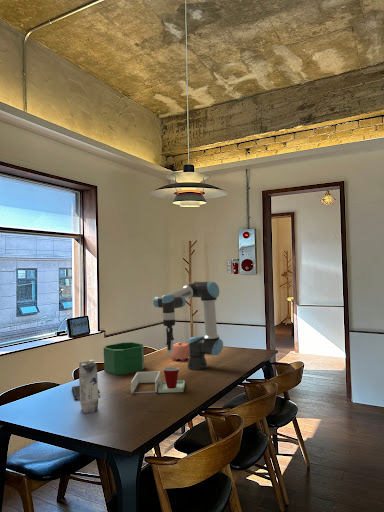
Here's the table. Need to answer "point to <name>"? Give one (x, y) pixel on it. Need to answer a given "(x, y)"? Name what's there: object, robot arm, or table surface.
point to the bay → (146, 380)
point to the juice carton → (88, 386)
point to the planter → (123, 358)
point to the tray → (164, 388)
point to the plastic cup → (171, 376)
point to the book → (77, 392)
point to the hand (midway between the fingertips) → (170, 352)
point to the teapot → (180, 351)
